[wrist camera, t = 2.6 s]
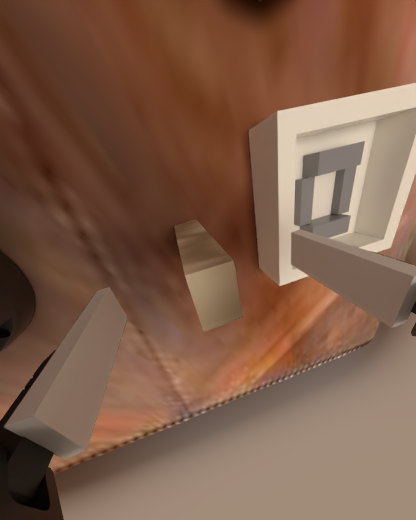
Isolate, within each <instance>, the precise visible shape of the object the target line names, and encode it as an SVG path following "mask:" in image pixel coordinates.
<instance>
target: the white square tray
mask: <svg viewBox="0 0 416 520" xmlns="http://www.w3.org/2000/svg"><path fill="white" fill-rule="evenodd" d="M248 132H249V144H250V157H251V169H252V182H253V194H254V207H255V220H256V232H257V245H258V257H259V268H260V269H261V270H262V271H263V272H264V273H265V274H266V275H268V276H269V277H270V278H271V279H272V280H273V281H274V282H276V283H277V284H278V285H279V286H281V285H284V284H287V283H290V282H293V281H296V280H298V279H301V278H304V277H307V276H308V275H307V274H305V273H304V272H302V271H300V270H299V269H297V268H296V267H294V266H292V265H291V232H294V231H297V230H300V229H301V230H304V231H307V232H310V233H314V234H317V235H320V236H323V237H326V238H329V239H333V240H336V241H339V242H342V243H345V244H348V245H352V246H355V247H358V248H361V249H364V250H367V251H372V252H375V253H376V252H379V251H382V250H385V249H388V248H390V247H391V245H392V242H393V239H394V236H395V233H396V230H397V227H398V224H399V221H400V218H401V215H402V212H403V209H404V206H405V203H406V200H407V197H408V194H409V191H410V188H411V185H412V182H413V179H414V176H415V173H416V83H413V84H408V85H403V86H398V87H393V88H389V89H384V90H379V91H374V92H369V93H364V94H359V95H354V96H350V97H345V98H340V99H335V100H330V101H325V102H320V103H315V104H310V105H306V106H301V107H296V108H291V109H286V110H281V111H277V112H276V113H274V114H273V115H271V116H270V117H268V118H267V119H265V120H264V121H262V122H261V123H259V124H258V125H256V126H255V127H253V128H252V129H250V130H249V131H248Z"/></svg>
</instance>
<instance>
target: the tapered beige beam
mask: <svg viewBox="0 0 416 520" xmlns="http://www.w3.org/2000/svg"><path fill="white" fill-rule="evenodd" d="M174 229H175V233H176V238H177V242H178V247H179V251H180V256H181V261H182V265H183V270H184V274H185V278H186V281H187V284H188V287H189V290H190V293H191V296H192V299H193V302H194V305H195V308H196V311H197V313H198V316H199V319H200V322H201V325H202V328H203V331H207V330H210V329H213V328H215V327H218V326H221V325H224V324H226V323H229V322H232V321H235V320H237V319H240V318H243V315H242V309H241V302H240V296H239V290H238V284H237V277H236V271H235V265H234V260H233V259H232V258H231V257H230V256H229V255H228V254H227V252H226V251H225V250H224V249H223V248H222V247H221V246H220V245H219V244H218V243H217V242H216V241H215V239H214V238H213V237H212V236H211V235H210V234H209V233H208V232H207V231H206V230H205V229H204V228H203V226H202V225H201V224H200V223H199V222H198V221H197V220H192V221H189V222H185V223H181V224H178V225H174Z"/></svg>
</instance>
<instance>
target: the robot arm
mask: <svg viewBox="0 0 416 520" xmlns="http://www.w3.org/2000/svg"><path fill="white" fill-rule="evenodd" d="M291 265H292V266H294V267H296V268H297V269H299V270H300V271H302V272H304V273H305V274H307V275H308V276H310V277H312V278H313V279H315V280H316V281H318V282H320V283H321V284H323V285H324V286H326V287H328V288H329V289H331V290H332V291H334V292H336V293H337V294H339V295H340V296H342V297H344V298H345V299H347V300H348V301H350V302H352V303H353V304H355V305H356V306H358V307H359V308H361V309H363V310H364V311H366V312H367V313H369V314H371V315H372V316H374V317H375V318H377V319H379V320H380V321H382V322H383V323H385V324H387V325H388V326H390V327H391V328H393V327H395V326H398V325H400V324H403V323H405V322H407V319H408V317H409V315H410V313H411V312H413V313H415V314H416V265H413V264H410V263H407V262H404V261H401V260H397V259H394V258H391V257H388V256H384V255H382V254H378V253H375V252H372V251H367V250H364V249H361V248H358V247H355V246H352V245H348V244H345V243H342V242H339V241H336V240H333V239H329V238H326V237H323V236H320V235H317V234H314V233H310V232H307V231H304V230H301V229H300V230H297V231H294V232H291ZM34 310H35V299H34V295H33V291H32V289H31V286H30V284H29V282H28V281H27V279H26V278H25V276H24V275H23V273H22V272H21V271H20V270H19V269H18V267H17V266H16V265H15V264H14V263H13V262H12V261H11V260H9V259H8V258H7V257H6V256H5V255H4V254H2V253H1V252H0V352H1V351H3V350H4V349H5V348H6V347H7V346H9V345H10V344H11V343H12V342H13V341H14V340H15V339H16V338H17V337H18V336H19V335H20V334H21V333H22V331H23V330H24V329H25V328H26V327H27V326H28V325H29V323H30V322H31V320H32V317H33V315H34ZM127 318H128V317H127V315H126V313H125V312H124V310H123V309H122V307H121V305H120V304H119V302H118V300H117V299H116V297H115V295H114V294H113V292H112V290H111V289H110V287H107V288H104V289H101V290H97V292H96V293H95V294H94V296H93V297H92V299H91V300H90V302H89V303H88V305H87V306H86V308H85V309H84V310H83V312H82V313H81V315H80V316H79V318H78V319H77V321H76V322H75V324H74V325H73V327H72V328H71V329H70V331H69V332H68V334H67V335H66V337H65V338H64V340H63V341H62V343H61V344H60V346H59V347H58V348H57V350H55V351H54V352H53V353H52V354H51V355H50V356H49V357H48V358H47V359H46V360H45V361H44V362H43V363H42V364H41V365H40V367H39V368H38V369H37V371H36V372H35V374H34V375H33V378H31V379H30V380H29V382H28V383H27V385H26V386H25V389H24V390H22V392H21V393H20V394H19V396H18V397H17V399H16V400H15V401H14V403H13V404H12V406H11V407H10V408H9V410H8V411H7V413H6V414H5V415H4V417H3V418H2V420H1V421H0V520H64V519H63V515H62V510H61V506H60V501H59V497H58V492H57V487H56V483H55V478H54V473H53V471H52V470H51V468H49V467H48V465H49V463H50V461H51V458H52V456H53V454H55V455H57V456H59V457H61V458H63V459H67V458H69V457H72V456H74V455H77V454H79V453H82V452H84V451H87V448H88V445H89V442H90V438H91V435H92V432H93V429H94V425H95V422H96V419H97V416H98V412H99V409H100V406H101V403H102V399H103V396H104V393H105V390H106V386H107V383H108V380H109V377H110V373H111V370H112V367H113V364H114V361H115V357H116V354H117V351H118V348H119V344H120V341H121V338H122V335H123V331H124V328H125V325H126V322H127ZM411 334H412V336H416V323H415V325H414V327H413V329H412V331H411Z"/></svg>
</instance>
